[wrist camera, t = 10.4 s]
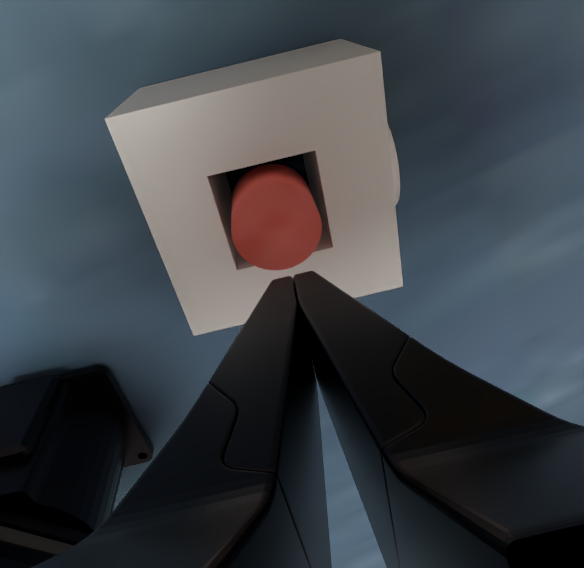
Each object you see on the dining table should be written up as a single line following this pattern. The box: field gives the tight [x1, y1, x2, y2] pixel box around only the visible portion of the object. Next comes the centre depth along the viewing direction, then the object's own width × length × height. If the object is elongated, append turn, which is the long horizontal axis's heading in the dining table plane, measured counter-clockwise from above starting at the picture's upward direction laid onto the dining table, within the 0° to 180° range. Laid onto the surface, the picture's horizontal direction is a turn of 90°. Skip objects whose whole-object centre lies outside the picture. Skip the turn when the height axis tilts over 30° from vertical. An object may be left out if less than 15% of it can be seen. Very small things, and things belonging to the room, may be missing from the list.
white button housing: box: [105, 39, 403, 336], centre depth 15 cm, size 7×7×5 cm
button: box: [231, 164, 322, 270], centre depth 13 cm, size 2×2×2 cm
